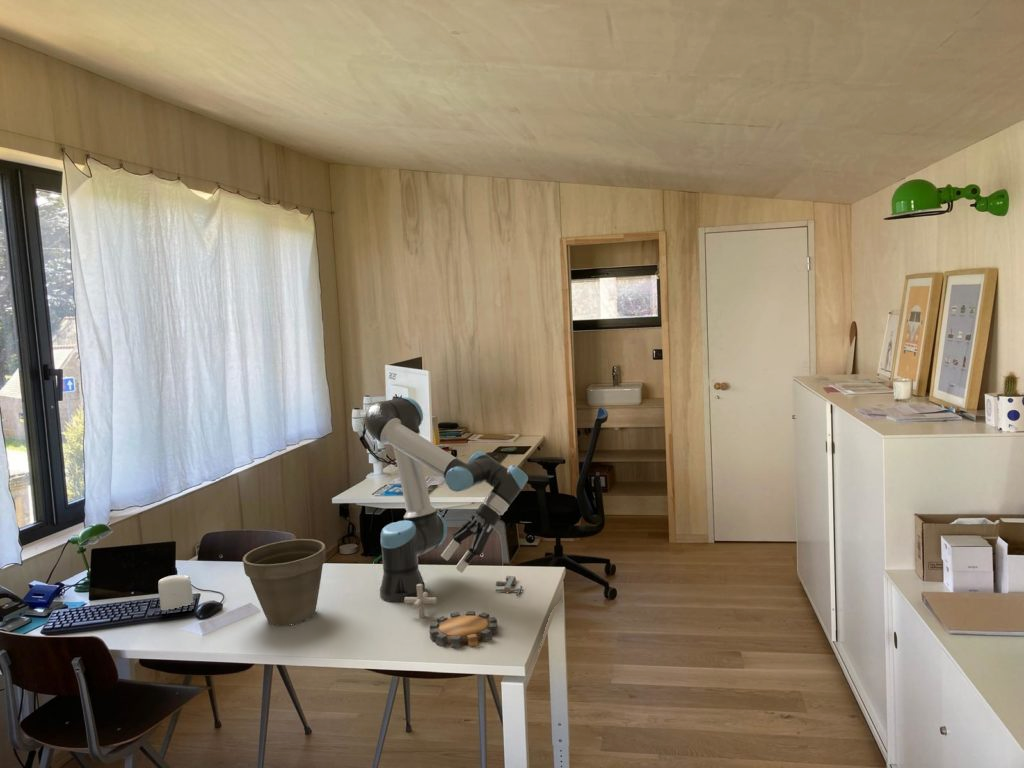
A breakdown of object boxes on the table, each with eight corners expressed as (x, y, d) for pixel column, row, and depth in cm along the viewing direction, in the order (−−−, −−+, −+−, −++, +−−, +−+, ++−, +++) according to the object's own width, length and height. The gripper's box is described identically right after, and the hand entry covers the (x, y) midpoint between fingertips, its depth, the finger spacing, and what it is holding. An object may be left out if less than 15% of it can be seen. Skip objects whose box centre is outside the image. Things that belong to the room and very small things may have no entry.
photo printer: (159, 616, 251) (155, 579, 250) (163, 611, 255) (159, 575, 254) (192, 612, 253) (188, 576, 251) (195, 607, 257) (191, 571, 256)
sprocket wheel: (416, 637, 221) (415, 629, 221) (463, 614, 236) (462, 606, 236) (464, 653, 209) (464, 644, 208) (511, 628, 223) (511, 620, 223)
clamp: (498, 575, 264) (527, 575, 262) (498, 581, 264) (527, 581, 262) (489, 591, 249) (519, 592, 247) (489, 598, 249) (519, 598, 247)
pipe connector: (432, 623, 231) (430, 590, 230) (401, 622, 233) (398, 590, 232) (442, 610, 241) (439, 579, 240) (411, 609, 243) (409, 578, 242)
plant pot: (246, 639, 228) (239, 568, 226) (251, 609, 251) (245, 545, 249) (332, 625, 234) (326, 556, 232) (329, 597, 258) (323, 534, 256)
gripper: (516, 525, 234) (473, 582, 229) (485, 508, 257) (446, 560, 252) (499, 510, 231) (455, 568, 227) (469, 495, 254) (430, 547, 250)
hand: (450, 564), depth 240 cm, fingers open, 13 cm apart
